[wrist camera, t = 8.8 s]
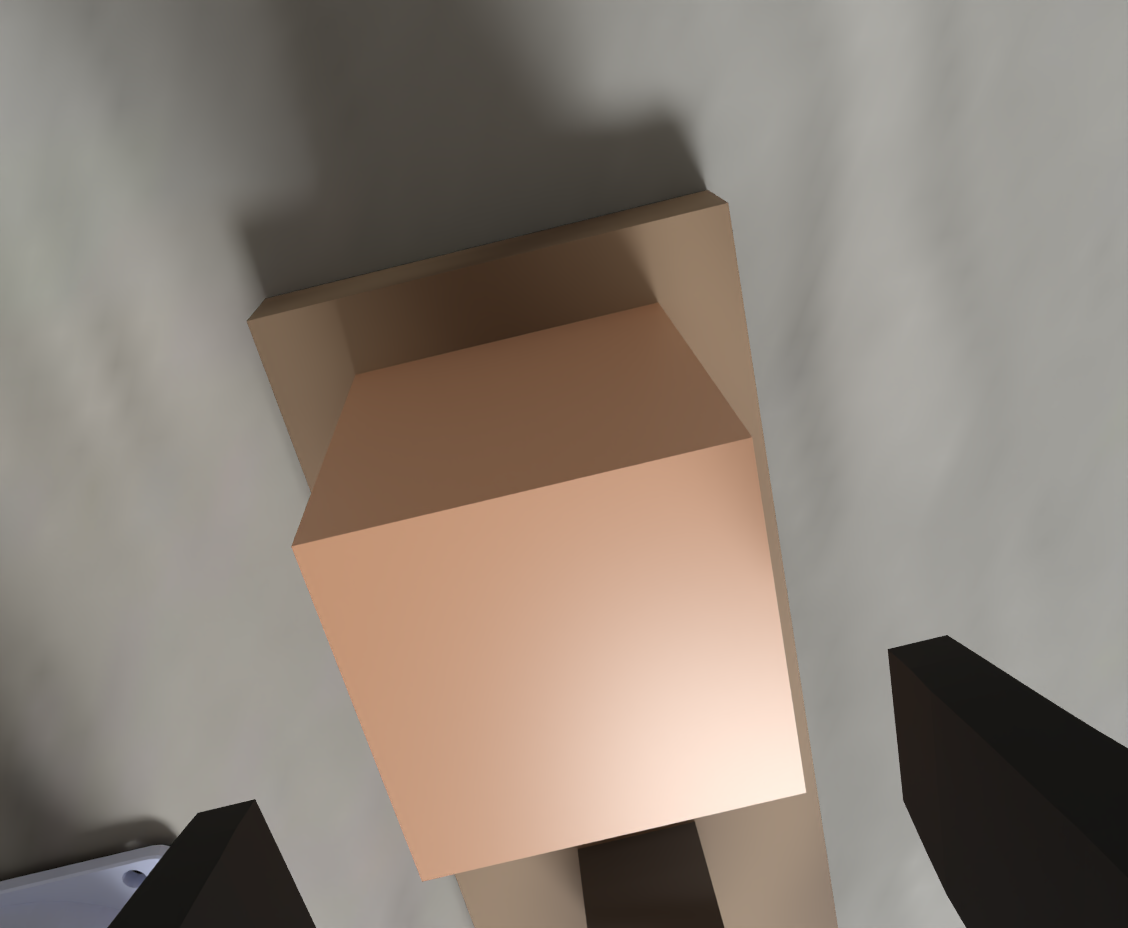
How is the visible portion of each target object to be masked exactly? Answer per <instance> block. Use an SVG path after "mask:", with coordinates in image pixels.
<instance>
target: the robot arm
mask: <svg viewBox="0 0 1128 928" xmlns="http://www.w3.org/2000/svg"><path fill="white" fill-rule="evenodd" d="M888 656H889V666H890V675H891V685H892V695H893V705H894V714H895V724H896V734H897V743H898V753H899V763H900V773H901V782H902V792H903V801H904V803H905V805H906V808H907V810H908V812H909V814H910V816H911V819H912V821H913V823H914V825H915V828H916V830H917V832H918V834H919V836H920V839H921V841H922V843H923V845H924V847H925V850H926V852H927V854H928V856H929V858H930V860H931V862H932V865H933V867H934V869H935V871H936V873H937V875H938V877H939V879H940V881H941V884H942V886H943V888H944V890H945V892H946V894H947V896H948V898H949V899H950V901H951V903H952V904H953V906H954V908H955V909H956V911H957V913H958V915H959V916H960V918H961V920H962V921H963V923H964V925H965V926H966V928H1128V748H1126V747H1125V746H1123V745H1121V744H1120V743H1118V742H1116V741H1115V740H1113V739H1111V738H1110V737H1108V736H1106V735H1104V734H1103V733H1101V732H1099V731H1098V730H1096V729H1094V728H1093V727H1091V726H1090V725H1088V724H1086V723H1085V722H1083V721H1081V720H1080V719H1078V718H1077V717H1075V716H1073V715H1072V714H1070V713H1069V712H1067V711H1065V710H1064V709H1062V708H1061V707H1059V706H1057V705H1056V704H1054V703H1053V702H1051V701H1050V700H1048V699H1046V698H1045V697H1043V696H1042V695H1040V694H1038V693H1037V692H1035V691H1034V690H1032V689H1031V688H1029V687H1027V686H1026V685H1024V684H1023V683H1021V682H1020V681H1018V680H1017V679H1015V678H1013V677H1012V676H1010V675H1009V674H1007V673H1006V672H1004V671H1003V670H1001V669H999V668H998V667H996V666H995V665H993V664H992V663H990V662H989V661H987V660H985V659H984V658H982V657H981V656H979V655H978V654H976V653H974V652H973V651H971V650H970V649H968V648H967V647H965V646H963V645H962V644H960V643H959V642H957V641H956V640H954V639H952V638H951V637H949V636H948V635H946V636H942V637H937V638H933V639H929V640H925V641H920V642H916V643H912V644H908V645H904V646H899V647H895V648H891V649H888ZM132 870H137V871H140V872H143V873H144V874H138V873H135V872H133V871H132ZM0 928H316V927H315V924H314V922H313V920H312V918H311V916H310V914H309V912H308V910H307V908H306V905H305V903H304V901H303V899H302V897H301V895H300V893H299V891H298V889H297V887H296V884H295V882H294V880H293V878H292V876H291V874H290V872H289V870H288V868H287V865H286V863H285V861H284V859H283V857H282V855H281V853H280V851H279V849H278V846H277V844H276V842H275V840H274V838H273V836H272V834H271V832H270V830H269V827H268V825H267V823H266V821H265V819H264V817H263V815H262V813H261V811H260V808H259V806H258V804H257V802H256V800H250V801H246V802H242V803H238V804H233V805H229V806H225V807H221V808H217V809H212V810H208V811H204V812H200V813H197V815H196V816H195V817H194V818H193V819H192V820H191V822H190V823H189V824H188V825H187V826H186V828H185V829H184V830H183V831H182V832H181V834H180V835H179V836H178V837H177V839H176V840H175V841H174V842H173V844H172V845H171V846H166V845H152V846H148V847H144V848H139V849H135V850H131V851H127V852H122V853H118V854H114V855H110V856H106V857H101V858H97V859H93V860H89V861H84V862H80V863H76V864H72V865H68V866H63V867H59V868H55V869H51V870H46V871H42V872H38V873H34V874H30V875H25V876H21V877H17V878H13V879H8V880H4V881H0Z"/></svg>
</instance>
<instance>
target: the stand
mask: <svg viewBox="0 0 1128 928" xmlns="http://www.w3.org/2000/svg"><path fill="white" fill-rule="evenodd" d="M654 303H659V304H660V306H661V307H662V308H663V310H664V311H665V313H666V314H667V316H668V317H669V318H670V320H671V321H672V323H673V324H674V326H675V327H676V329H677V330H678V331H679V333H680V334H681V336H682V337H683V339H684V340H685V341H686V343H687V344H688V346H689V347H690V349H691V350H692V351H693V353H694V354H695V356H696V357H697V359H698V360H699V362H700V363H701V364H702V366H703V367H704V369H705V370H706V372H707V373H708V374H709V376H710V377H711V379H712V380H713V382H714V383H715V384H716V386H717V387H718V389H719V390H720V392H721V393H722V395H723V396H724V397H725V399H726V400H727V402H728V403H729V405H730V406H731V407H732V409H733V410H734V412H735V413H736V415H737V416H738V417H739V419H740V420H741V422H742V423H743V425H744V426H745V427H746V429H747V430H748V432H749V433H750V435H751V436H752V438H753V445H754V452H755V458H756V465H757V471H758V478H759V485H760V491H761V498H762V504H763V511H764V518H765V524H766V531H767V537H768V544H769V550H770V557H771V564H772V570H773V577H774V583H775V590H776V597H777V603H778V610H779V616H780V623H781V630H782V636H783V643H784V649H785V656H786V663H787V669H788V676H789V682H790V689H791V696H792V702H793V709H794V715H795V722H796V729H797V735H798V742H799V748H800V755H801V761H802V768H803V775H804V781H805V788H806V793H803V794H799V795H794V796H790V797H786V798H781V799H777V800H773V801H768V802H764V803H760V804H755V805H751V806H747V807H742V808H738V809H734V810H729V811H725V812H721V813H716V814H712V815H708V816H703V817H699V818H695V819H690V820H686V821H682V822H678V823H673V824H669V825H665V826H660V827H656V828H652V829H647V830H643V831H639V832H634V833H630V834H626V835H621V836H617V837H613V838H608V839H604V840H600V841H595V842H591V843H587V844H582V845H578V846H574V847H569V848H565V849H561V850H557V851H552V852H548V853H544V854H539V855H535V856H531V857H526V858H522V859H518V860H513V861H509V862H505V863H500V864H496V865H492V866H487V867H483V868H479V869H474V870H470V871H466V872H461V873H457V874H455V876H456V879H457V882H458V884H459V887H460V890H461V892H462V895H463V898H464V900H465V903H466V906H467V908H468V911H469V914H470V916H471V919H472V922H473V924H474V927H475V928H838V925H837V918H836V912H835V905H834V899H833V892H832V885H831V879H830V872H829V866H828V859H827V852H826V846H825V839H824V833H823V826H822V819H821V813H820V806H819V800H818V793H817V786H816V780H815V773H814V767H813V760H812V753H811V747H810V740H809V734H808V727H807V720H806V714H805V707H804V701H803V694H802V687H801V681H800V674H799V668H798V661H797V654H796V648H795V641H794V635H793V628H792V621H791V615H790V608H789V602H788V595H787V588H786V582H785V575H784V568H783V562H782V555H781V549H780V542H779V535H778V529H777V522H776V516H775V509H774V502H773V496H772V489H771V483H770V476H769V469H768V463H767V456H766V450H765V443H764V436H763V430H762V423H761V417H760V410H759V403H758V397H757V390H756V384H755V377H754V370H753V364H752V357H751V351H750V344H749V337H748V331H747V324H746V318H745V311H744V304H743V298H742V291H741V285H740V278H739V271H738V265H737V258H736V252H735V245H734V238H733V232H732V225H731V219H730V212H729V205H728V203H727V202H726V201H724V200H723V199H721V198H720V197H718V196H716V195H715V194H713V193H712V192H710V191H709V190H706V191H702V192H697V193H693V194H689V195H685V196H681V197H677V198H673V199H669V200H665V201H661V202H657V203H653V204H649V205H645V206H640V207H636V208H632V209H628V210H624V211H620V212H616V213H612V214H608V215H604V216H600V217H596V218H592V219H588V220H584V221H579V222H575V223H571V224H567V225H563V226H559V227H555V228H551V229H547V230H543V231H539V232H535V233H531V234H527V235H523V236H518V237H514V238H510V239H506V240H502V241H498V242H494V243H490V244H486V245H482V246H478V247H474V248H470V249H466V250H462V251H457V252H453V253H449V254H445V255H441V256H437V257H433V258H429V259H425V260H421V261H417V262H413V263H409V264H405V265H401V266H396V267H392V268H388V269H384V270H380V271H376V272H372V273H368V274H364V275H360V276H356V277H352V278H348V279H344V280H339V281H335V282H331V283H327V284H323V285H319V286H315V287H311V288H307V289H303V290H299V291H295V292H291V293H287V294H283V295H278V296H274V297H270V298H266V299H265V300H264V301H263V302H262V303H261V305H260V306H259V307H258V308H257V309H256V311H255V312H254V313H253V314H252V315H251V317H250V318H249V319H248V320H247V323H248V326H249V329H250V331H251V334H252V337H253V339H254V342H255V345H256V347H257V350H258V353H259V355H260V358H261V361H262V363H263V366H264V368H265V371H266V374H267V376H268V379H269V382H270V384H271V387H272V390H273V392H274V395H275V398H276V400H277V403H278V406H279V408H280V411H281V414H282V416H283V419H284V422H285V424H286V427H287V430H288V432H289V435H290V438H291V440H292V443H293V446H294V448H295V451H296V454H297V456H298V459H299V462H300V464H301V467H302V470H303V472H304V475H305V478H306V480H307V483H308V486H309V488H310V491H311V493H312V490H313V487H314V485H315V482H316V479H317V477H318V474H319V471H320V468H321V466H322V463H323V460H324V458H325V455H326V452H327V450H328V447H329V444H330V442H331V439H332V436H333V434H334V431H335V428H336V426H337V423H338V420H339V417H340V415H341V412H342V409H343V407H344V404H345V401H346V399H347V396H348V393H349V391H350V388H351V385H352V383H353V380H354V377H355V375H357V374H361V373H365V372H370V371H374V370H378V369H382V368H386V367H390V366H395V365H399V364H403V363H407V362H411V361H415V360H420V359H424V358H428V357H432V356H436V355H441V354H445V353H449V352H453V351H457V350H461V349H466V348H470V347H474V346H478V345H482V344H486V343H491V342H495V341H499V340H503V339H507V338H512V337H516V336H520V335H524V334H528V333H532V332H537V331H541V330H545V329H549V328H553V327H557V326H562V325H566V324H570V323H574V322H578V321H583V320H587V319H591V318H595V317H599V316H603V315H608V314H612V313H616V312H620V311H624V310H628V309H633V308H637V307H641V306H645V305H649V304H654Z"/></svg>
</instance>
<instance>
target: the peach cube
mask: <svg viewBox="0 0 1128 928" xmlns="http://www.w3.org/2000/svg"><path fill="white" fill-rule="evenodd" d="M291 547H292V549H293V552H294V554H295V557H296V560H297V562H298V565H299V567H300V570H301V572H302V575H303V578H304V580H305V583H306V585H307V588H308V590H309V593H310V595H311V598H312V601H313V603H314V606H315V608H316V611H317V613H318V616H319V618H320V621H321V624H322V626H323V629H324V631H325V634H326V636H327V639H328V642H329V644H330V647H331V649H332V652H333V654H334V657H335V659H336V662H337V665H338V667H339V670H340V672H341V675H342V677H343V680H344V683H345V685H346V688H347V690H348V693H349V695H350V698H351V700H352V703H353V706H354V708H355V711H356V713H357V716H358V718H359V721H360V724H361V726H362V729H363V731H364V734H365V736H366V739H367V741H368V744H369V747H370V749H371V752H372V754H373V757H374V759H375V762H376V765H377V767H378V770H379V772H380V775H381V777H382V780H383V782H384V785H385V788H386V790H387V793H388V795H389V798H390V800H391V803H392V806H393V808H394V811H395V813H396V816H397V818H398V821H399V823H400V826H401V829H402V831H403V834H404V836H405V839H406V841H407V844H408V847H409V849H410V852H411V854H412V857H413V859H414V862H415V864H416V867H417V870H418V872H419V875H420V877H421V880H422V882H423V881H427V880H431V879H436V878H440V877H444V876H448V875H453V874H457V873H461V872H466V871H470V870H474V869H479V868H483V867H487V866H492V865H496V864H500V863H505V862H509V861H513V860H518V859H522V858H526V857H531V856H535V855H539V854H544V853H548V852H552V851H557V850H561V849H565V848H569V847H574V846H578V845H582V844H587V843H591V842H595V841H600V840H604V839H608V838H613V837H617V836H621V835H626V834H630V833H634V832H639V831H643V830H647V829H652V828H656V827H660V826H665V825H669V824H673V823H678V822H682V821H686V820H690V819H695V818H699V817H703V816H708V815H712V814H716V813H721V812H725V811H729V810H734V809H738V808H742V807H747V806H751V805H755V804H760V803H764V802H768V801H773V800H777V799H781V798H786V797H790V796H794V795H799V794H803V793H806V788H805V781H804V775H803V768H802V761H801V755H800V748H799V742H798V735H797V729H796V722H795V715H794V709H793V702H792V696H791V689H790V682H789V676H788V669H787V663H786V656H785V649H784V643H783V636H782V630H781V623H780V616H779V610H778V603H777V597H776V590H775V583H774V577H773V570H772V564H771V557H770V550H769V544H768V537H767V531H766V524H765V518H764V511H763V504H762V498H761V491H760V485H759V478H758V471H757V465H756V458H755V452H754V445H753V438H752V436H751V435H750V433H749V432H748V430H747V429H746V427H745V426H744V425H743V423H742V422H741V420H740V419H739V417H738V416H737V415H736V413H735V412H734V410H733V409H732V407H731V406H730V405H729V403H728V402H727V400H726V399H725V397H724V396H723V395H722V393H721V392H720V390H719V389H718V387H717V386H716V384H715V383H714V382H713V380H712V379H711V377H710V376H709V374H708V373H707V372H706V370H705V369H704V367H703V366H702V364H701V363H700V362H699V360H698V359H697V357H696V356H695V354H694V353H693V351H692V350H691V349H690V347H689V346H688V344H687V343H686V341H685V340H684V339H683V337H682V336H681V334H680V333H679V331H678V330H677V329H676V327H675V326H674V324H673V323H672V321H671V320H670V318H669V317H668V316H667V314H666V313H665V311H664V310H663V308H662V307H661V306H660V304H659V303H654V304H649V305H645V306H641V307H637V308H633V309H628V310H624V311H620V312H616V313H612V314H608V315H603V316H599V317H595V318H591V319H587V320H583V321H578V322H574V323H570V324H566V325H562V326H557V327H553V328H549V329H545V330H541V331H537V332H532V333H528V334H524V335H520V336H516V337H512V338H507V339H503V340H499V341H495V342H491V343H486V344H482V345H478V346H474V347H470V348H466V349H461V350H457V351H453V352H449V353H445V354H441V355H436V356H432V357H428V358H424V359H420V360H415V361H411V362H407V363H403V364H399V365H395V366H390V367H386V368H382V369H378V370H374V371H370V372H365V373H361V374H357V375H355V377H354V380H353V383H352V385H351V388H350V391H349V393H348V396H347V399H346V401H345V404H344V407H343V409H342V412H341V415H340V417H339V420H338V423H337V426H336V428H335V431H334V434H333V436H332V439H331V442H330V444H329V447H328V450H327V452H326V455H325V458H324V460H323V463H322V466H321V468H320V471H319V474H318V477H317V479H316V482H315V485H314V487H313V490H312V493H311V495H310V498H309V501H308V503H307V506H306V509H305V511H304V514H303V517H302V519H301V522H300V525H299V528H298V530H297V533H296V536H295V538H294V541H293V544H292V546H291Z"/></svg>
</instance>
